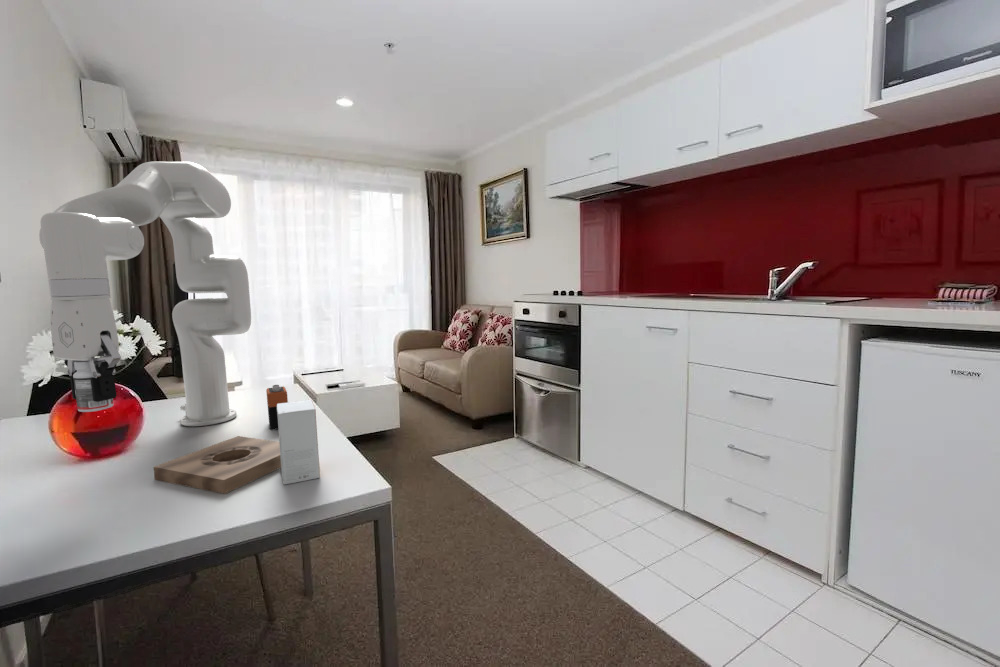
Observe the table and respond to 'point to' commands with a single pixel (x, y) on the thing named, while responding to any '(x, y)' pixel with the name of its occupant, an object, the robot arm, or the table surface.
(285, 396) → the battery
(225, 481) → the socket block
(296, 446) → the small box
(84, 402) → the pill bottle
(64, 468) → the table surface
